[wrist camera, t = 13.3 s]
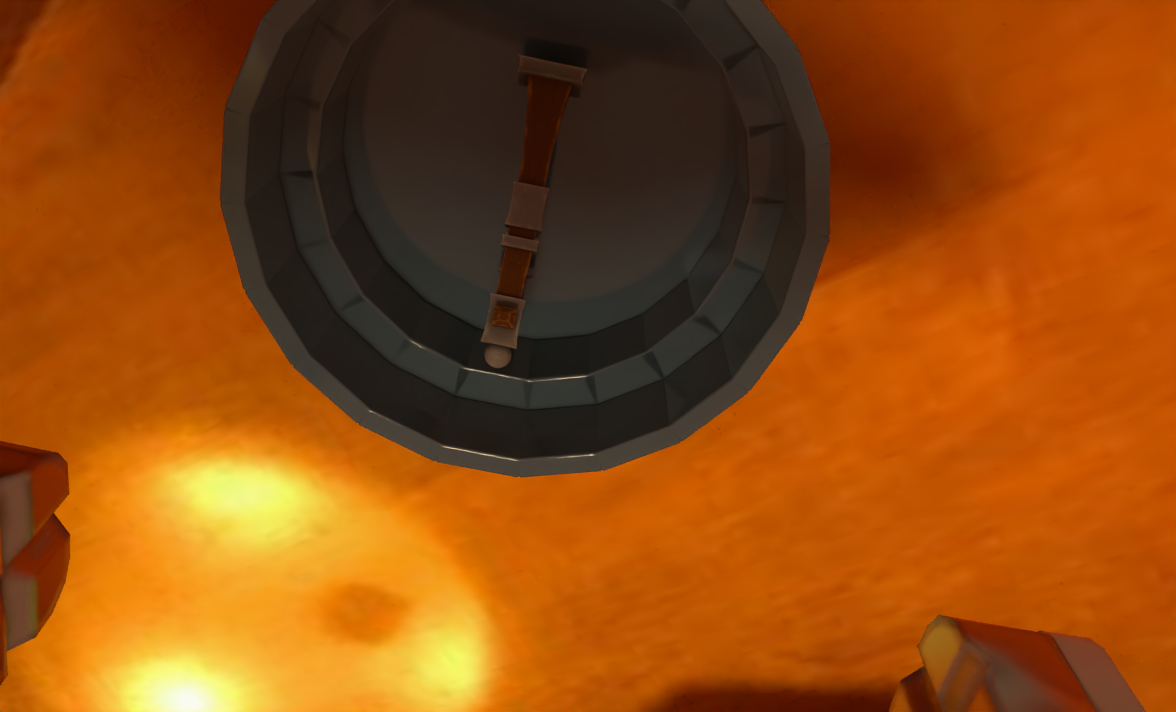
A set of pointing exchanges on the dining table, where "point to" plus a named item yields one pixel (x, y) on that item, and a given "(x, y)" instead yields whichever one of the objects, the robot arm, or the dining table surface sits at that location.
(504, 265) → the brown buckled strap
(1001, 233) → the dining table surface
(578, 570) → the dining table surface
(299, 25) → the basin
